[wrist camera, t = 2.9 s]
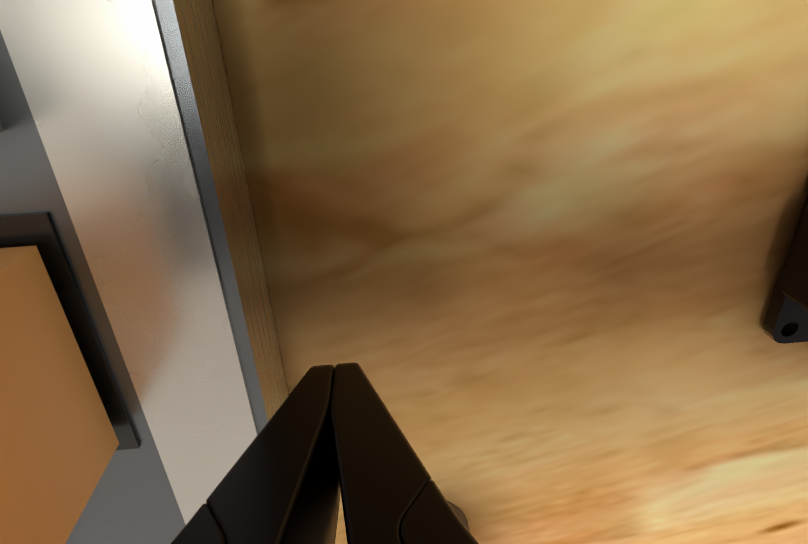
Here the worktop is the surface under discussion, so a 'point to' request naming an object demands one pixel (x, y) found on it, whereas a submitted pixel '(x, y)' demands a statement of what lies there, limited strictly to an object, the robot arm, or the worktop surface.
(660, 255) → the worktop surface
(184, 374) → the breaker panel
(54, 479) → the block
